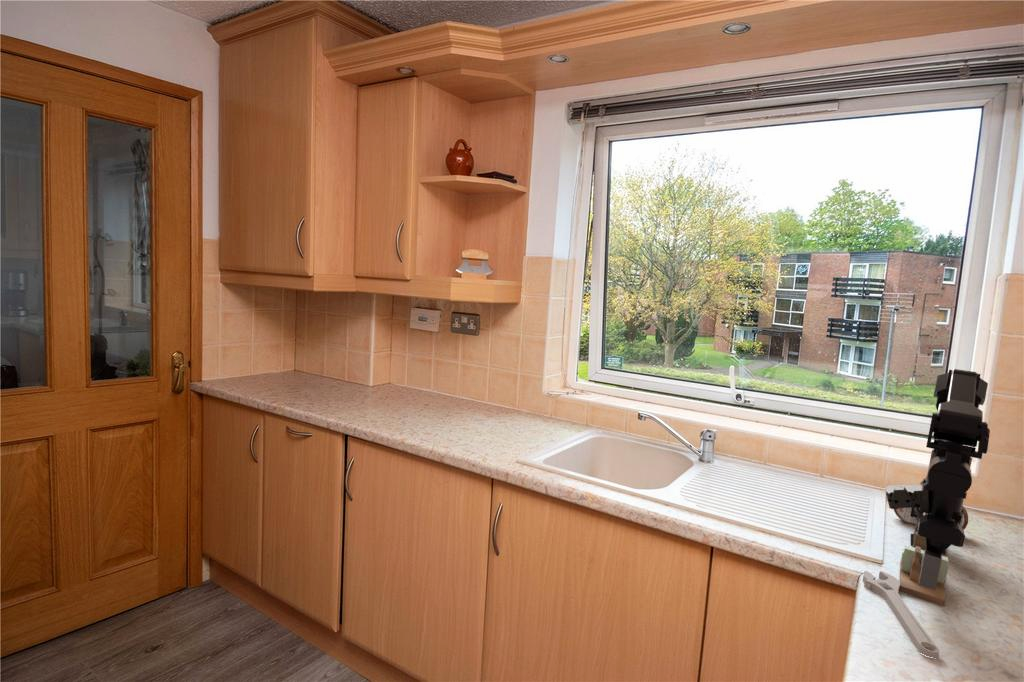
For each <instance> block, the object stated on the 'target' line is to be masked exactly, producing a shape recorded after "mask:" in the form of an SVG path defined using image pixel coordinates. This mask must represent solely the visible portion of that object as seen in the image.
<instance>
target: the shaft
mask: <svg viewBox="0 0 1024 682" xmlns="http://www.w3.org/2000/svg"><path fill="white" fill-rule="evenodd" d="M942 556H943V555H942ZM942 556H941V554H938V553H935V552H931V551H928V550H925V552H924V554H922V558H921V572H920V577H919V585H920V586H923V587H926V588H929V589H933V590H935V589H936V585H937V580H938V575H939V570H940V565H941V560H942Z"/></svg>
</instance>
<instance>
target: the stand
mask: <svg viewBox="0 0 1024 682" xmlns="http://www.w3.org/2000/svg"><path fill="white" fill-rule="evenodd" d="M912 547H914V548H915V552H914V556H913V559H912V564H911V569H910V573H909V572H906V571H903V570H901V561H900V562H899V579H898V580H899V581H900V588H899V592H898V593H903V594H906V595H908V596H911V597H915V598H918V599H921V600H924V601H926V602H929V603H933V604H936V605H940V606H942V607H945V606H946V605H945V604H946V601H947V600H946V593H945V582H944V583H941V582H938V581H937V585H936V589H935V590H933V589H929V588H926V587H923V586H920V585H919V577H920V572H921V558H920V555H921V550H924V551H925V550H926V537H922V536H920V535H918V532H916V533H915V538H914V543H913V545H912Z"/></svg>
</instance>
